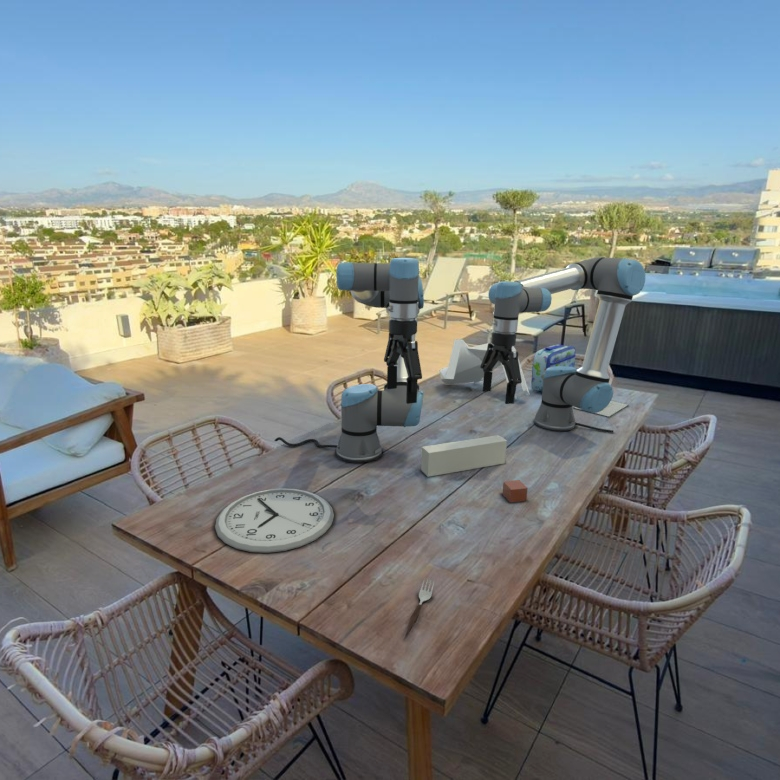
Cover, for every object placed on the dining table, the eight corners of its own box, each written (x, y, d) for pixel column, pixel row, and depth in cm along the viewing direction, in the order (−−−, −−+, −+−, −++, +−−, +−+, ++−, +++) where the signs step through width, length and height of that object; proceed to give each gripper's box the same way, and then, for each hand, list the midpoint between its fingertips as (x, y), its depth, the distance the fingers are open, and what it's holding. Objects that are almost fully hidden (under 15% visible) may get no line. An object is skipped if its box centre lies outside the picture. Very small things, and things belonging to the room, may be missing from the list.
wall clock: (332, 544, 122) (200, 548, 120) (332, 550, 123) (201, 555, 120) (334, 484, 151) (228, 486, 148) (334, 489, 151) (228, 491, 149)
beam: (496, 457, 175) (498, 435, 172) (505, 463, 170) (507, 440, 168) (420, 470, 164) (421, 446, 162) (427, 476, 160) (428, 452, 158)
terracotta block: (518, 492, 152) (519, 479, 150) (526, 500, 147) (527, 488, 146) (502, 494, 151) (503, 481, 149) (509, 502, 146) (511, 489, 145)
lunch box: (547, 397, 237) (552, 352, 231) (526, 391, 245) (531, 348, 238) (574, 386, 255) (580, 344, 249) (554, 381, 262) (559, 340, 256)
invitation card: (608, 416, 214) (573, 407, 224) (608, 416, 214) (573, 408, 224) (628, 404, 229) (594, 396, 238) (628, 405, 229) (594, 397, 238)
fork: (398, 636, 97) (399, 628, 97) (423, 584, 111) (423, 576, 111) (412, 640, 96) (412, 631, 96) (435, 587, 111) (435, 579, 110)
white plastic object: (461, 429, 252) (437, 405, 227) (444, 352, 274) (420, 323, 250) (535, 404, 240) (518, 377, 215) (510, 326, 262) (492, 293, 237)
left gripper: (373, 312, 147) (372, 384, 153) (409, 327, 125) (407, 411, 131) (397, 310, 150) (396, 381, 156) (437, 326, 128) (433, 408, 134)
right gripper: (473, 325, 173) (468, 387, 179) (517, 340, 150) (509, 410, 157) (493, 325, 175) (487, 385, 181) (538, 339, 153) (530, 408, 159)
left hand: (401, 395), depth 144 cm, fingers open, 13 cm apart
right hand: (497, 397), depth 169 cm, fingers open, 13 cm apart
